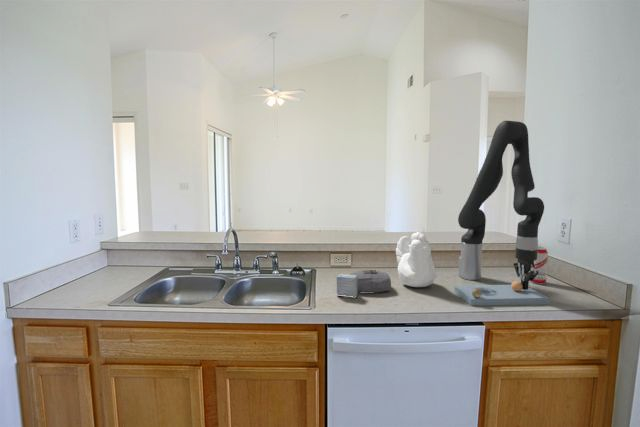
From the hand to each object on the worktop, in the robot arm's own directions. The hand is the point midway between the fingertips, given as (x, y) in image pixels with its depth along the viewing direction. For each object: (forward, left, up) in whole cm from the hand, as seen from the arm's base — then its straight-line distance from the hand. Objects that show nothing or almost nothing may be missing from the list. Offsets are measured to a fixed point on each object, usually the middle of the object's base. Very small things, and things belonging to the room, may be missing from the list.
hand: (524, 289), depth 138 cm
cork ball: (-4, -23, +1) cm, 23 cm away
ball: (-1, -3, +1) cm, 4 cm away
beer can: (-8, +23, -3) cm, 24 cm away
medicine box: (-35, -62, -3) cm, 72 cm away
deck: (-4, -9, -3) cm, 11 cm away
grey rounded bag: (-39, -50, -4) cm, 63 cm away
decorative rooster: (-35, -26, -3) cm, 44 cm away
